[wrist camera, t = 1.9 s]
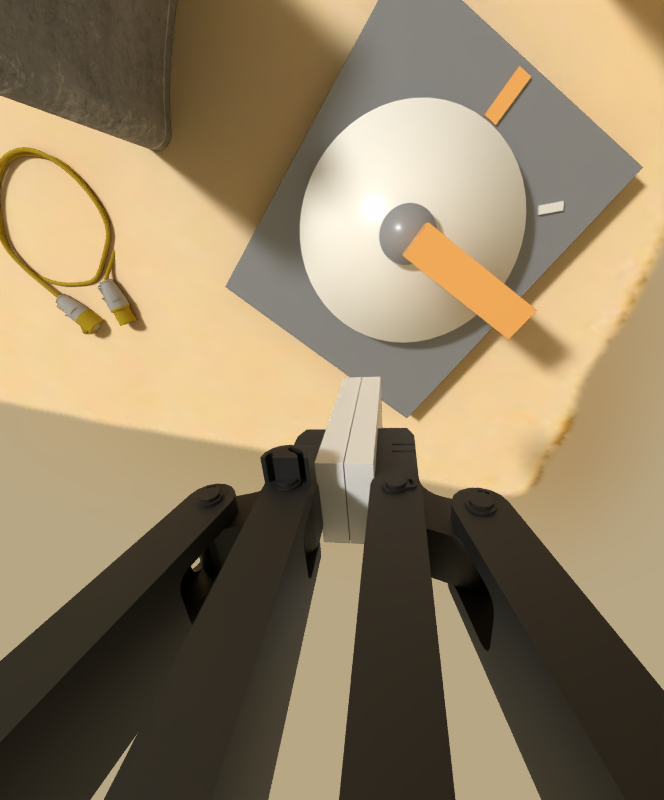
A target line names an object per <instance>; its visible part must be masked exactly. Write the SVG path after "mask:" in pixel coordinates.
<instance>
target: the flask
mask: <svg viewBox="0 0 664 800" xmlns="http://www.w3.org/2000/svg"><path fill="white" fill-rule="evenodd" d="M176 6H177V0H0V96H3V97H6V98H9V99H12V100H14V101H17V102H20V103H23V104H26V105H28V106H31V107H34V108H37V109H39V110H42V111H45V112H48V113H51V114H53V115H56V116H59V117H62V118H64V119H67V120H70V121H73V122H76V123H78V124H81V125H84V126H87V127H90V128H92V129H95V130H98V131H101V132H103V133H106V134H109V135H112V136H115V137H117V138H120V139H123V140H126V141H129V142H131V143H134V144H137V145H140V146H142V147H145V148H148V149H151V150H154V151H160V150H163V149H164V148H166V147H167V146H168V144H169V142H170V139H171V121H170V68H171V53H172V42H173V31H174V22H175V14H176Z"/></svg>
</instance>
